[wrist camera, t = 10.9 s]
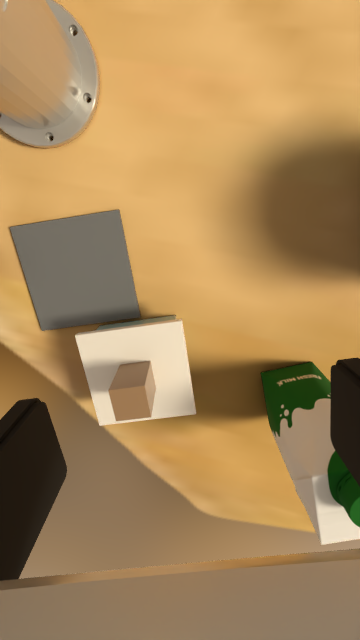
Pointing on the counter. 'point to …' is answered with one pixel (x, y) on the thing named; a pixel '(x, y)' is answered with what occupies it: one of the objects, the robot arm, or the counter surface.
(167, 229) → the counter surface
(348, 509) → the milk carton
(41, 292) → the mat
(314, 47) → the counter surface
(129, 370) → the lid
